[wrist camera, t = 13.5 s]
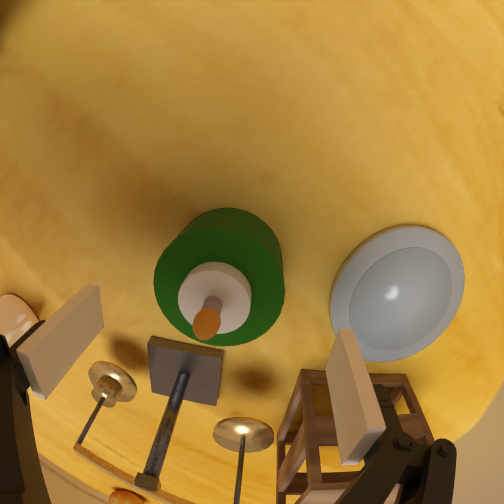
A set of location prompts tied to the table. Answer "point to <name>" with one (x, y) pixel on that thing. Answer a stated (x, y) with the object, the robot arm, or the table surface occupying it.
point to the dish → (397, 291)
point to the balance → (172, 409)
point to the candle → (222, 278)
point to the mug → (15, 318)
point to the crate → (331, 441)
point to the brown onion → (124, 498)
